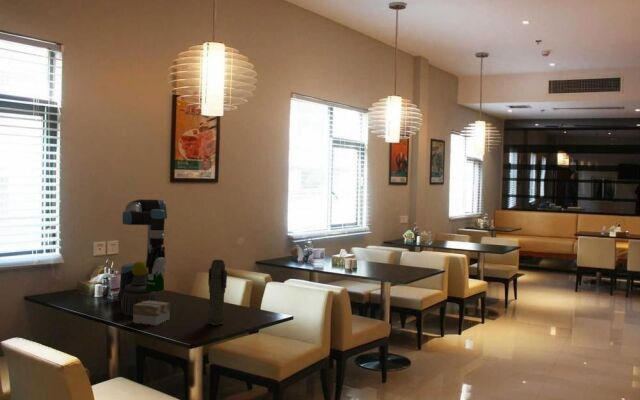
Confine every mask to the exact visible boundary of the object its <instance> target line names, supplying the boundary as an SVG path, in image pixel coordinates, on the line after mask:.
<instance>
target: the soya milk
mask: <svg viewBox="0 0 640 400" xmlns="http://www.w3.org/2000/svg"><path fill="white" fill-rule="evenodd" d="M154 257H155V259H154V265H153V268H154V275H153V280H148V268H147V282H146V291H154V292H155V293H158V292H161V291H164V290H165V273H164V265H165V266H166V263H165V262H166V260H167V259H166V258H167V257H165V258H164V257H158V254H157V255H156V256H155V255H153V257H152V258H154ZM145 261H147V257H146V258H145Z"/></svg>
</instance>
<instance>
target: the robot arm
mask: <svg viewBox="0 0 640 400" xmlns="http://www.w3.org/2000/svg"><path fill="white" fill-rule="evenodd" d="M124 210H125V211H123V212H122V224H123V225H126V226H131V225H132V226H147V239H146V240H147V241H146V258H147V261H146V260H145V261H143V262H144V263H146V267H147V268H148V280H153V275H154V268H153V265H154V259H155V257H154V258H152V257H153V255H155V256H156V255H157V254H158V257H164V258H166V251H165V250H166V247H165V246H163V245H164V244H165V239H164V237H165V220H166V219H168V213H167V203H166V201H165V200H163V199H135V200H132V201H130V202H128V203H127V205H126V206H125V208H124ZM134 263H135V262H132V263H131V262H130V263H126V264H124V265H122V266H121V267H120V272H119V273H120V282H119V283H120V285H119V291H118V293H117V297H116V302H118V303H121V300H122V294H123V291H125V286H127V285H129V284H131V283H132V282H133V281H132V280H133V278H134V277H133V276H134V274H133V273H132V266H133V264H134ZM166 263H167V262H166V261H165V265H164V274H165V272H166ZM145 276H146V277H145V278H146V282H147V273H146V275H145Z"/></svg>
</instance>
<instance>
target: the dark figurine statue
mask: <svg viewBox="0 0 640 400" xmlns="http://www.w3.org/2000/svg"><path fill="white" fill-rule="evenodd" d="M227 280H228V271H227V269H226V263H225V261H224V260H222V259H214V260H212V261H211V265H210V267H209V269H208V279H207V281H208V282H207V283H208V287H209V289H208V293H209V302H208V303H209V305H208V308H209V309H208V311H207V323H208V322H209V323H214V324H218V323H222V322H225V321H224V320H225V307H224V306H225V293H226V288H227V282H228V281H227Z"/></svg>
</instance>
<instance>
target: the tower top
mask: <svg viewBox="0 0 640 400" xmlns="http://www.w3.org/2000/svg"><path fill="white" fill-rule="evenodd" d="M168 312H171V302H166V301H158V300H156V301H151V300H147V301H144V302H141V303H138V304H135V305H133V314H136V315H144V316H151V317H157V316H160V315H162V314H165V313H168Z"/></svg>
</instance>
